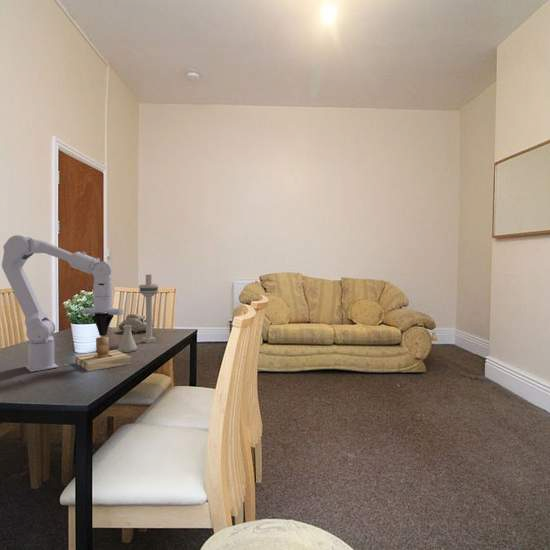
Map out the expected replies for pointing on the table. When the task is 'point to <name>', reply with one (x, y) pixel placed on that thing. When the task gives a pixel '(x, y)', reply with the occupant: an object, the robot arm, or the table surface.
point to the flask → (127, 340)
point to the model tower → (148, 306)
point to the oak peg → (102, 347)
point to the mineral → (134, 323)
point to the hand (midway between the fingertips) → (103, 335)
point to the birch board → (102, 360)
